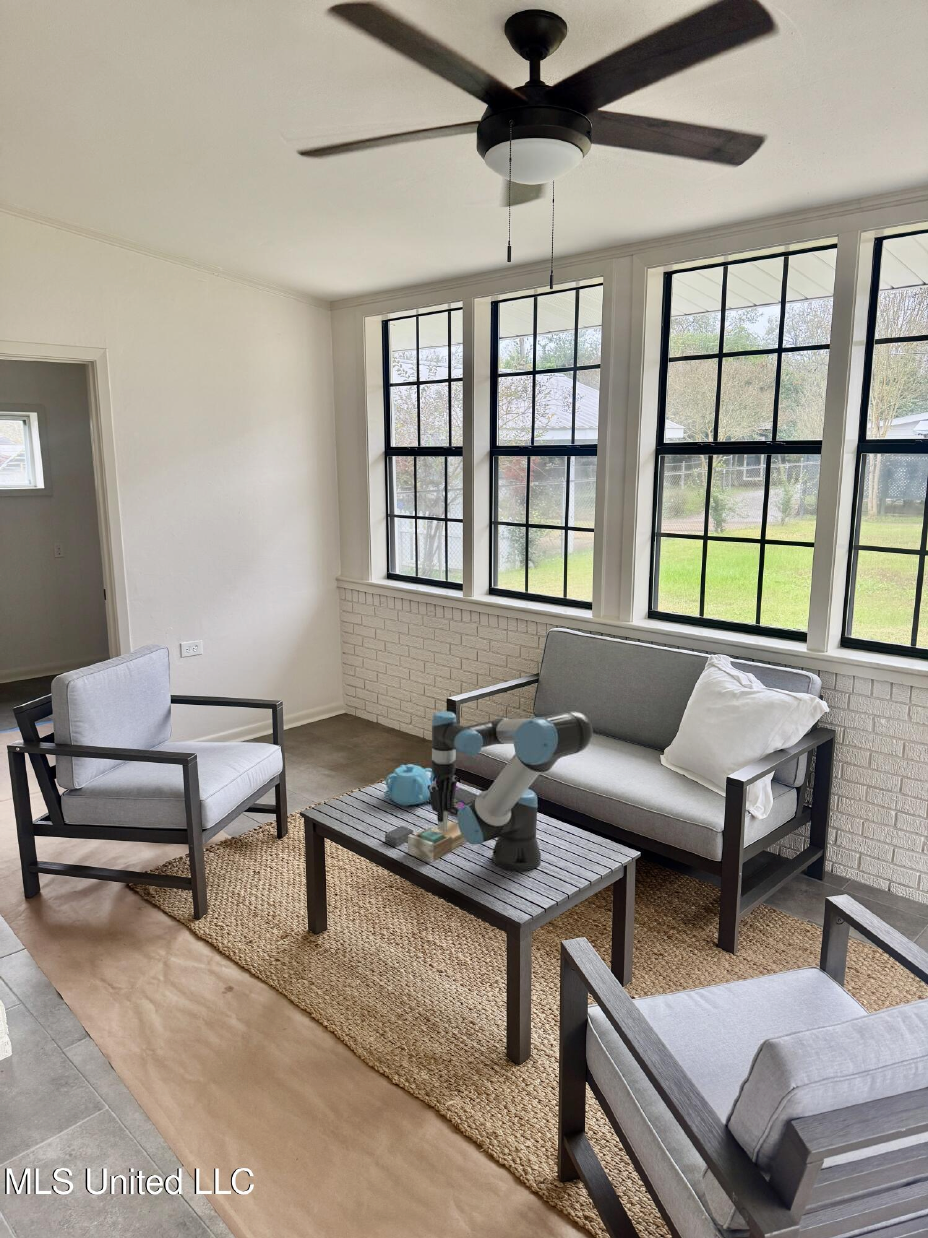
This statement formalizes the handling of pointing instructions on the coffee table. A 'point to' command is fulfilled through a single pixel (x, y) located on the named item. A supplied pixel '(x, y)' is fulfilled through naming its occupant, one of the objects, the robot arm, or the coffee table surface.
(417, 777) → the decorative pot
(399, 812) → the coffee table surface
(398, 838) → the dark grey block
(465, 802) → the box
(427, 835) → the block
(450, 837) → the drawer
